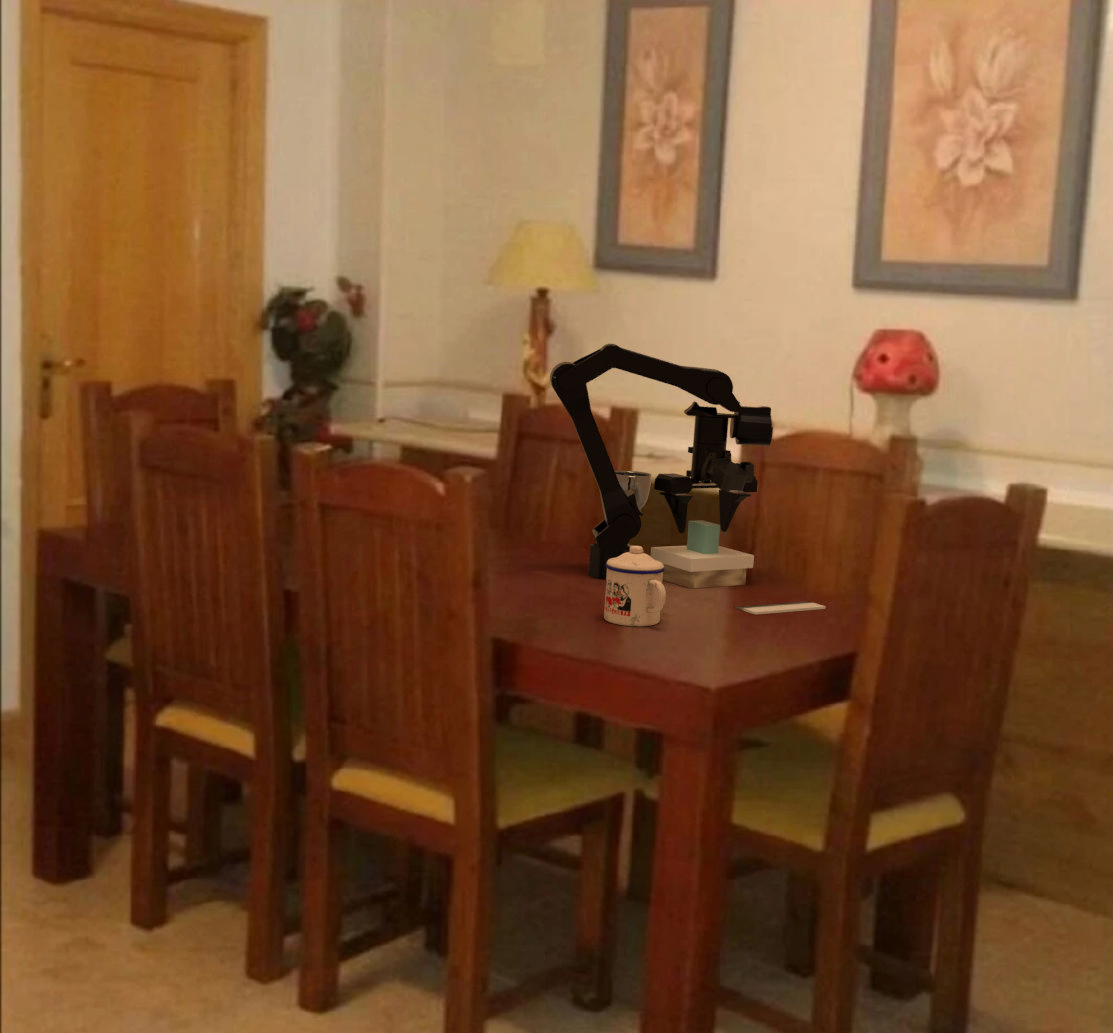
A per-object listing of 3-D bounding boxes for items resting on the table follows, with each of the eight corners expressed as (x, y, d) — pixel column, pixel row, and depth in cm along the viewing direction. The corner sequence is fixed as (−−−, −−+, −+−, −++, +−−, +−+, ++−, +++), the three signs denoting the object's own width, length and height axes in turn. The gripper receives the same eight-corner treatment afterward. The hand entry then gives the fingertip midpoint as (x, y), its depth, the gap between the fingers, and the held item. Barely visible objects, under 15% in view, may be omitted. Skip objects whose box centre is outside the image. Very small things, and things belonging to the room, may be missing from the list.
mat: (755, 614, 263) (755, 612, 263) (701, 597, 274) (702, 595, 274) (825, 608, 271) (825, 606, 271) (770, 592, 282) (771, 590, 282)
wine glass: (652, 549, 320) (657, 473, 318) (637, 555, 313) (642, 477, 310) (614, 544, 323) (619, 469, 321) (598, 549, 316) (603, 472, 314)
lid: (690, 571, 276) (693, 529, 275) (650, 559, 286) (652, 518, 285) (753, 567, 284) (756, 526, 282) (711, 556, 293) (714, 516, 292)
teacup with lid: (590, 617, 254) (595, 542, 252) (637, 612, 259) (641, 540, 257) (637, 633, 244) (642, 556, 242) (684, 628, 249) (690, 553, 247)
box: (689, 592, 278) (691, 563, 277) (655, 581, 286) (657, 553, 285) (744, 588, 284) (747, 560, 284) (709, 578, 293) (711, 550, 292)
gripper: (695, 448, 270) (688, 542, 272) (781, 448, 280) (774, 538, 282) (655, 440, 279) (648, 531, 281) (740, 440, 289) (733, 527, 291)
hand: (702, 532), depth 284 cm, fingers open, 9 cm apart
